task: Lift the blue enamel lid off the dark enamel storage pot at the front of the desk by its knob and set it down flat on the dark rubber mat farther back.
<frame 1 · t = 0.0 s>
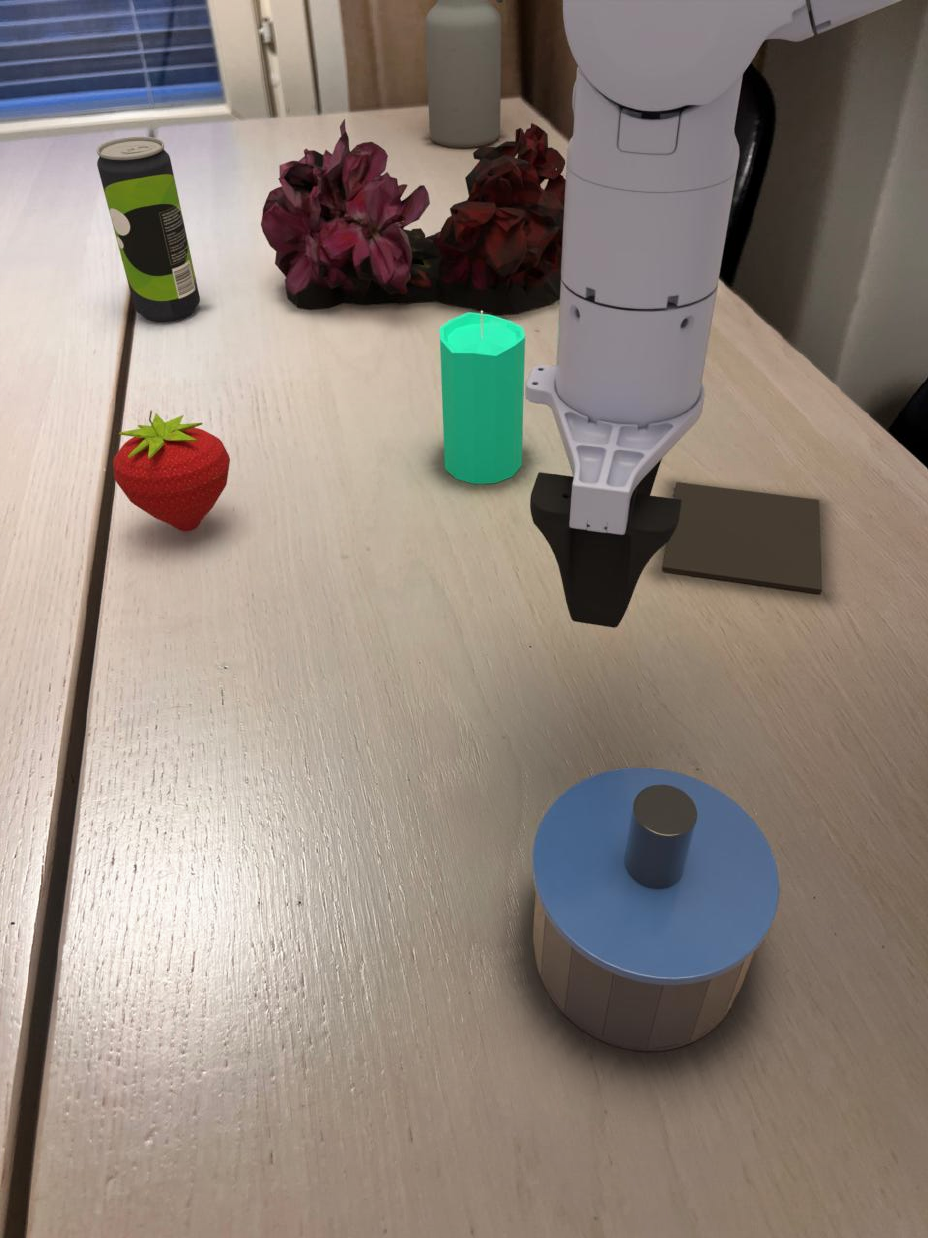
hand: (607, 564, 44), 12 cm above the table, tool pointing down, fingers open, 7 cm apart
strawberry: (190, 533, 67), on the table
flower arrangement: (426, 287, 96), on the table
pot: (636, 949, 43), on the table
lid: (652, 870, 39), point 6 cm above the table, touching pot
candle: (482, 463, 72), on the table
water bottle: (466, 139, 132), on the table
beverage can: (169, 312, 93), on the table
mat: (743, 536, 65), on the table
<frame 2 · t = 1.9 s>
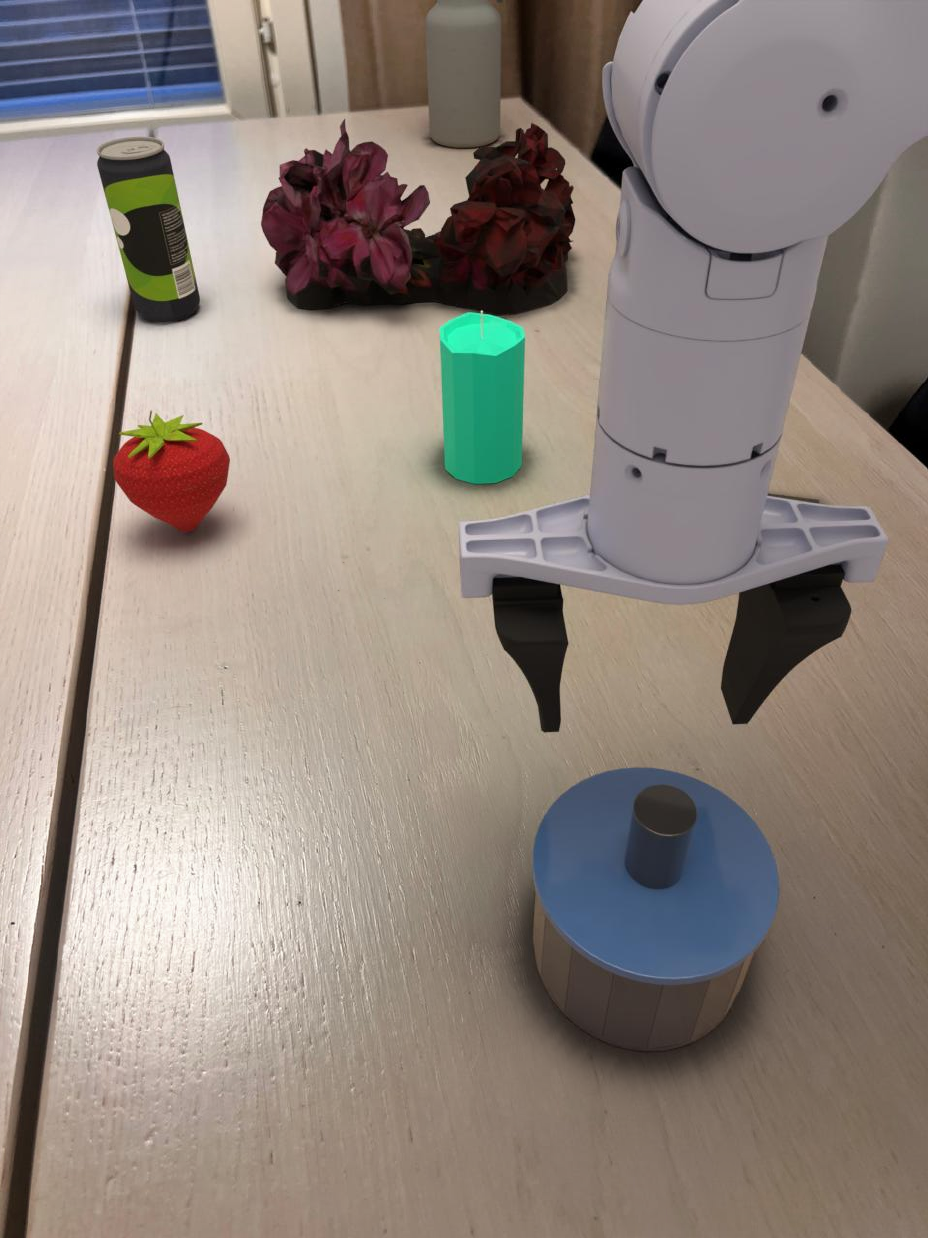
hand: (641, 709, 39), 11 cm above the table, tool pointing down, fingers open, 7 cm apart
nothing on the table moved.
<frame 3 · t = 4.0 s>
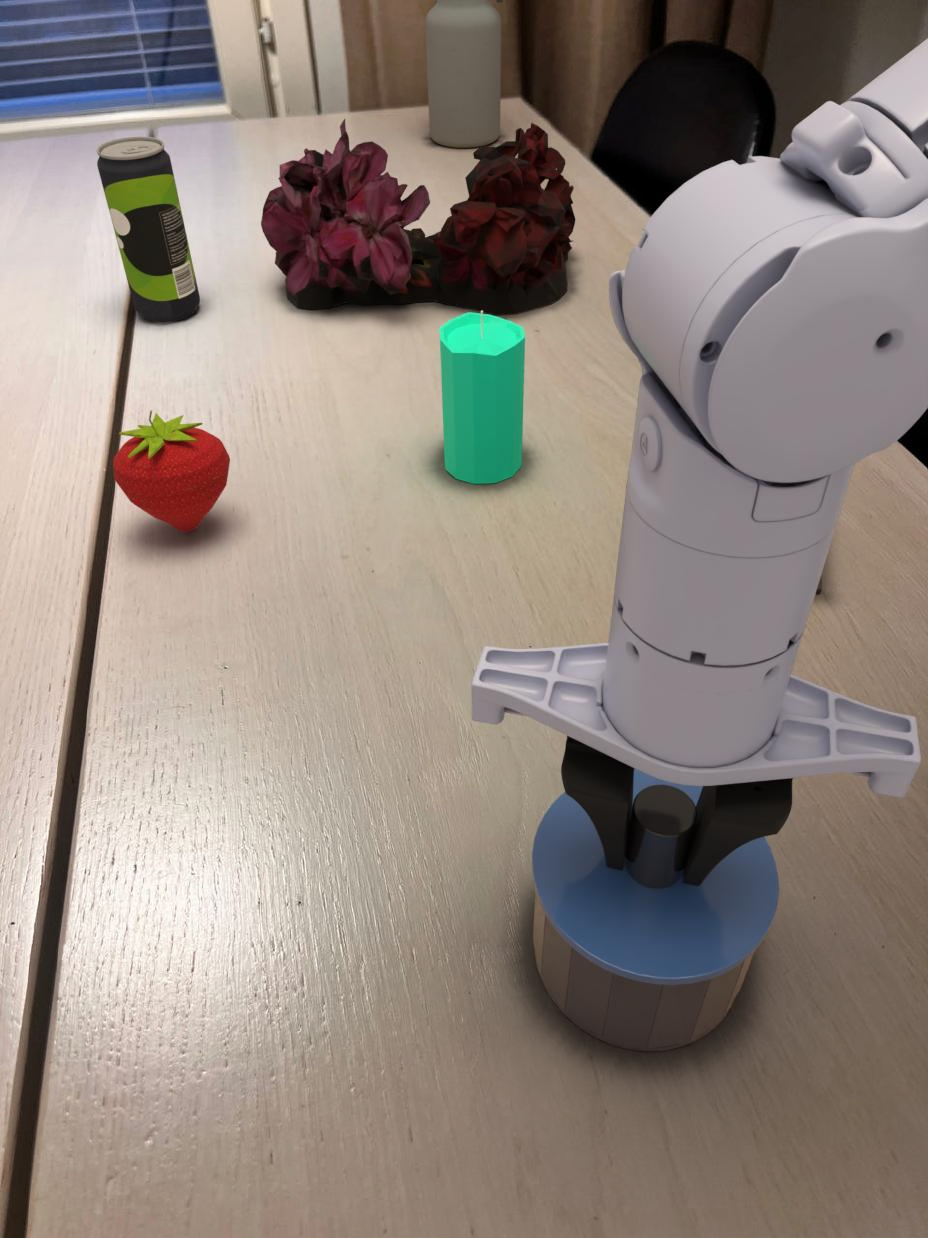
hand: (655, 856, 38), 7 cm above the table, tool pointing down, fingers closed on lid, 2 cm apart
lid: (652, 870, 39), point 6 cm above the table, touching gripper, pot
everything else where it was.
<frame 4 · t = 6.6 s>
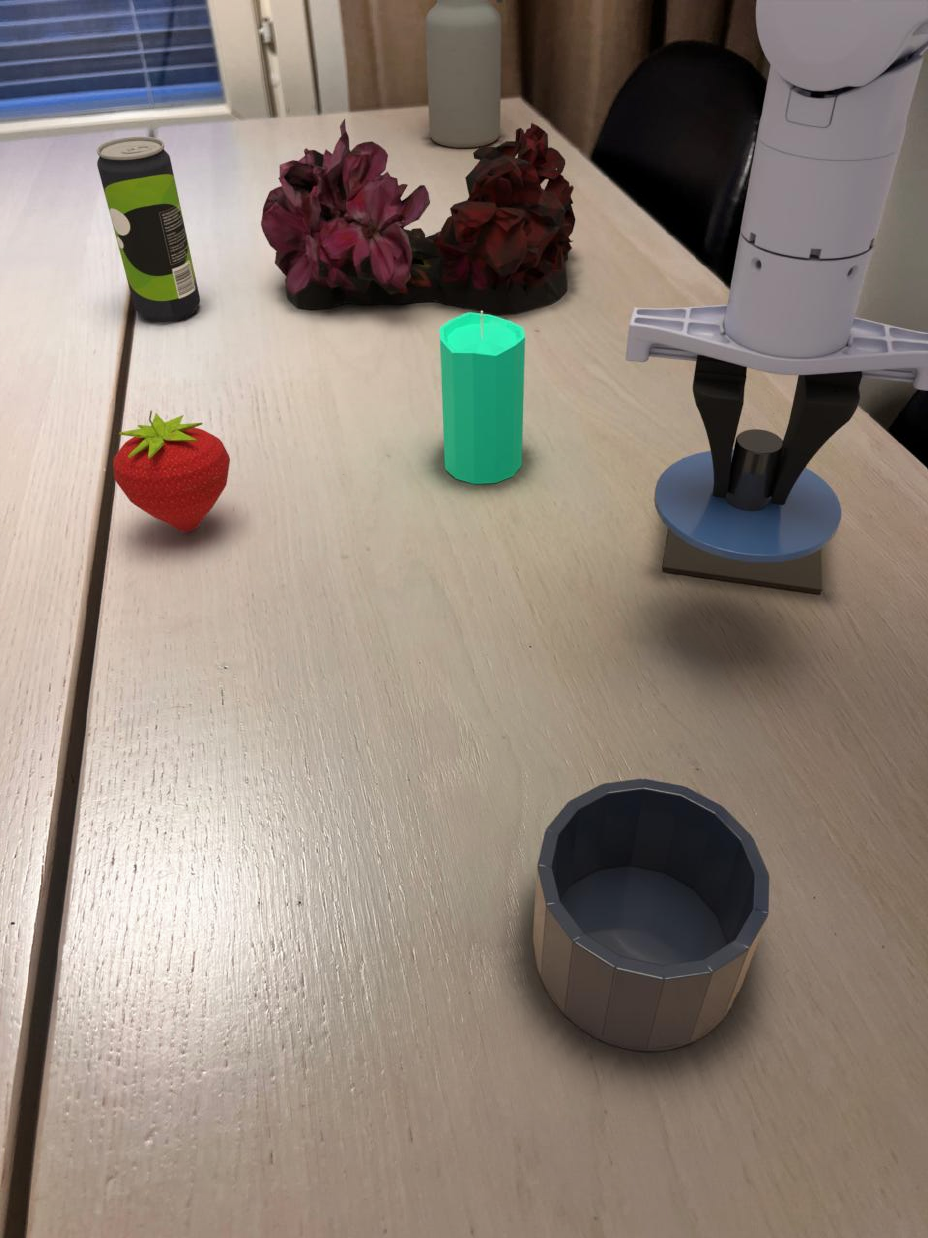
hand: (749, 490, 51), 10 cm above the table, tool pointing down, fingers closed on lid, 2 cm apart
lid: (745, 505, 52), point 9 cm above the table, touching gripper
everything else where it was.
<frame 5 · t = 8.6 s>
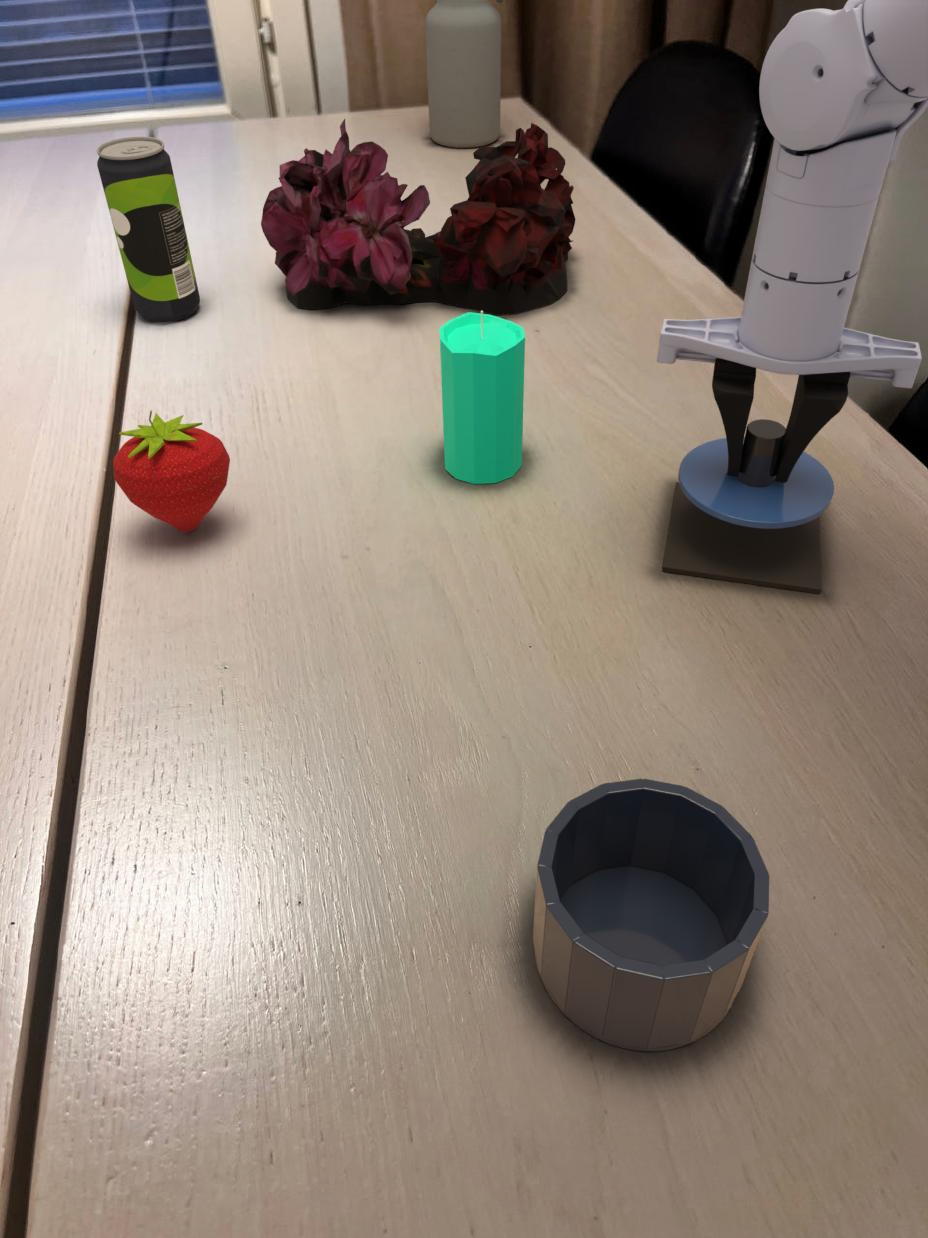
hand: (757, 470, 61), 5 cm above the table, tool pointing down, fingers closed on lid, 2 cm apart
lid: (754, 483, 62), point 4 cm above the table, touching gripper
everything else where it was.
when the fingers open (2 cm above the table, at t = 9.7 s): lid stays where it is, resting on mat.
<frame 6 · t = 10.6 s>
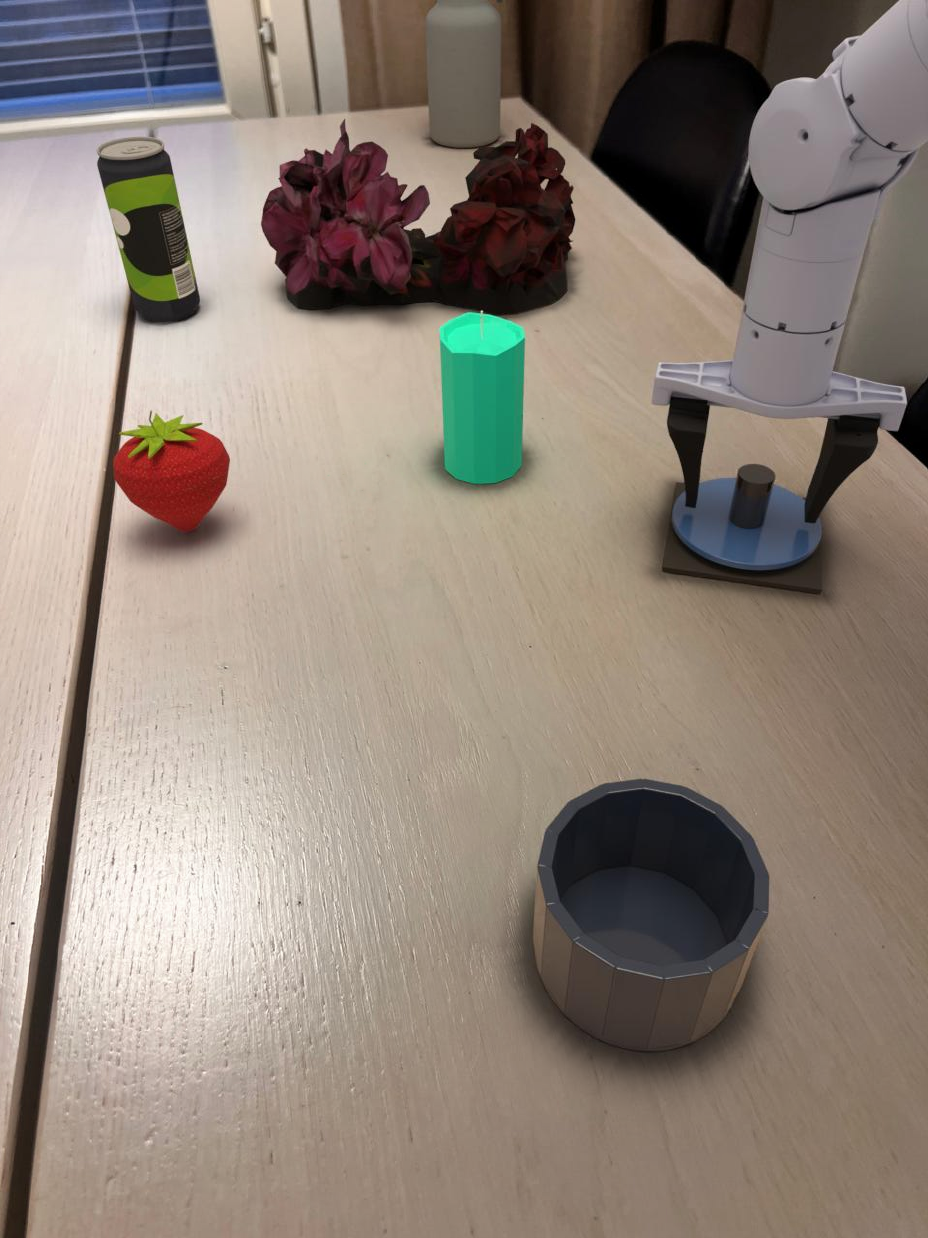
hand: (749, 506, 63), 3 cm above the table, tool pointing down, fingers open, 7 cm apart
lid: (745, 524, 64), point 1 cm above the table, touching mat
everything else where it was.
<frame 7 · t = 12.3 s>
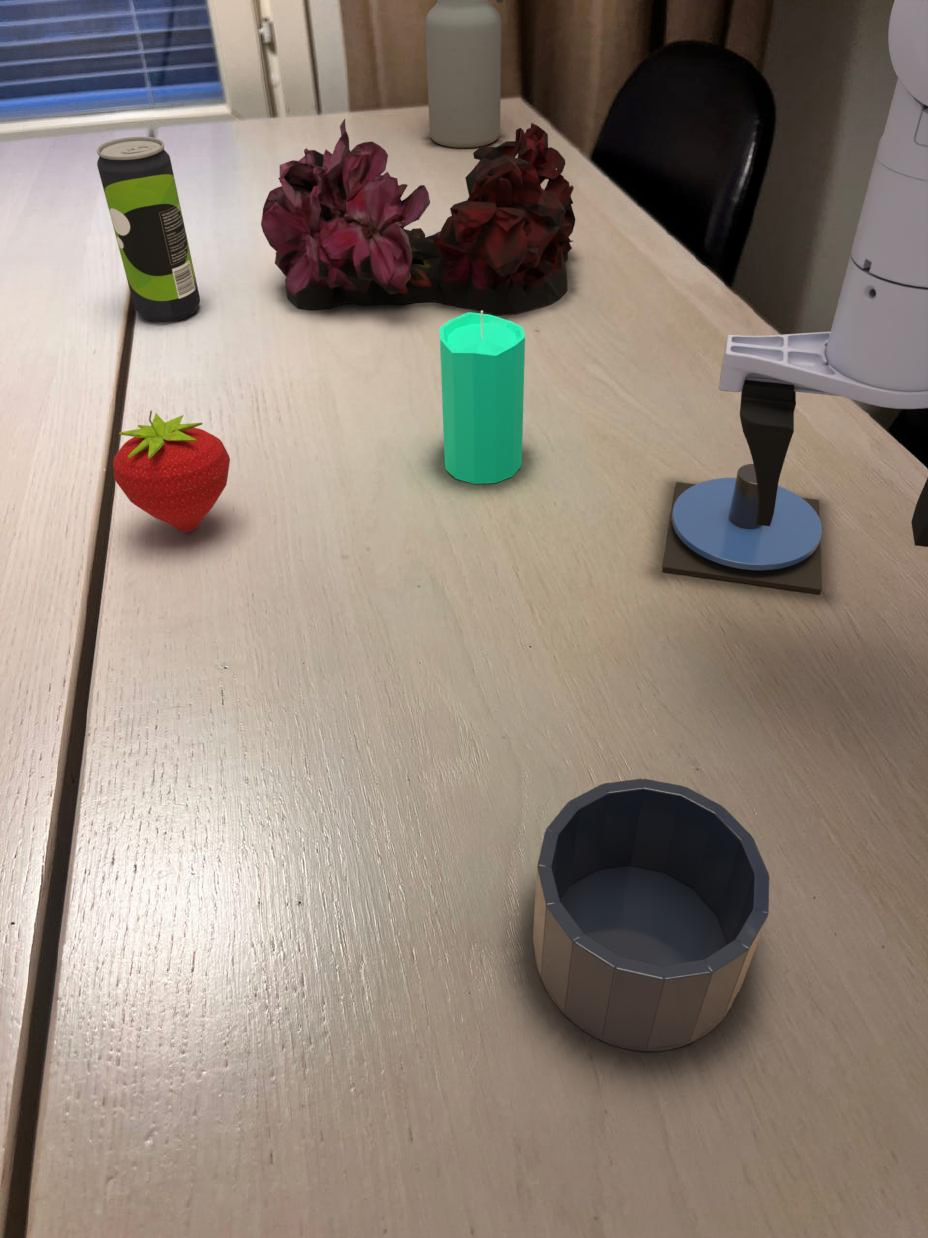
hand: (840, 524, 49), 10 cm above the table, tool pointing down, fingers open, 7 cm apart
nothing on the table moved.
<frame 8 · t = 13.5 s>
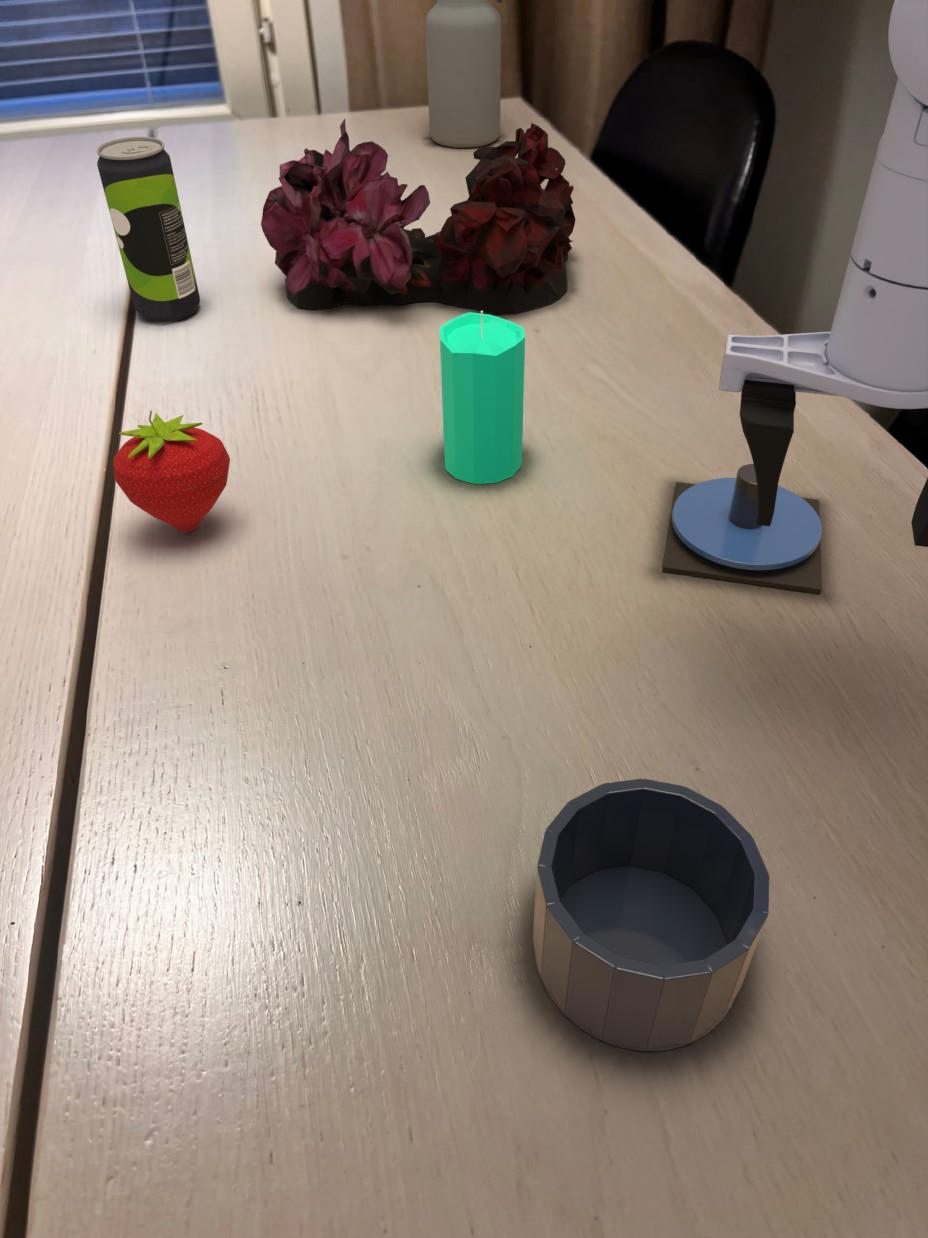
hand: (840, 524, 49), 10 cm above the table, tool pointing down, fingers open, 7 cm apart
nothing on the table moved.
at the end: lid inside the target area on the mat (0.0 cm from its centre), point 1.0 cm above the mat's base; lid tilted 0°; the gripper is holding nothing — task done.
